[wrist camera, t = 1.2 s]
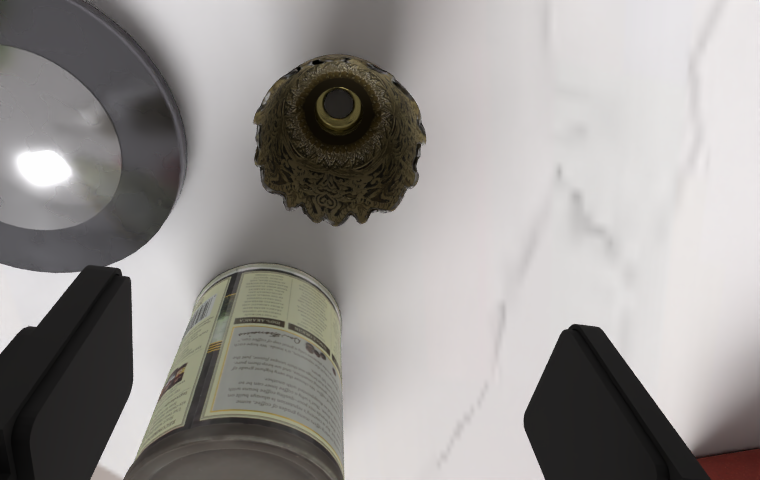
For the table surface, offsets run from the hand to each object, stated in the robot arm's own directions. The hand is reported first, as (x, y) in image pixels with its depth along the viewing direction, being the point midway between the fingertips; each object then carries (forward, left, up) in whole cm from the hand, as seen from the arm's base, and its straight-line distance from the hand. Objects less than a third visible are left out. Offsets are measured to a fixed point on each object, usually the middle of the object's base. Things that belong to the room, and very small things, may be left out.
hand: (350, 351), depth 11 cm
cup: (0, 0, -21) cm, 21 cm away
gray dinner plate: (+5, -16, -21) cm, 27 cm away
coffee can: (+16, -2, -21) cm, 26 cm away
